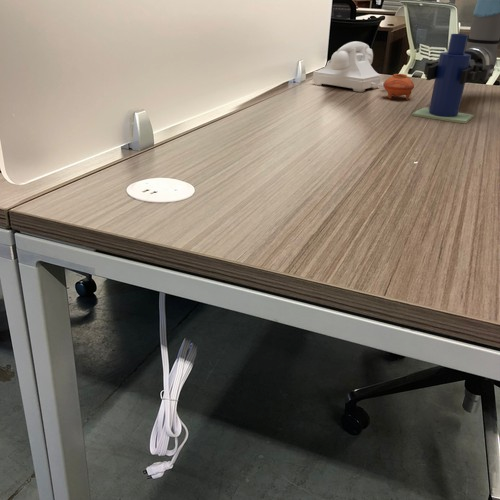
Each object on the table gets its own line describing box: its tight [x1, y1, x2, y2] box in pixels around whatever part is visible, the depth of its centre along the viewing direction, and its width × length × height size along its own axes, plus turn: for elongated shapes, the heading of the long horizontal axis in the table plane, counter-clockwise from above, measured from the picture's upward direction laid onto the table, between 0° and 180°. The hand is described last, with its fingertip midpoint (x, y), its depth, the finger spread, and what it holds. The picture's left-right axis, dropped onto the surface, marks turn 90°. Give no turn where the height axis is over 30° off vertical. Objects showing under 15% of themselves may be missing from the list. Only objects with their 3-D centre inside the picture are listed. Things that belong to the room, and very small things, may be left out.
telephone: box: [312, 40, 385, 93], centre depth 148 cm, size 25×21×12 cm
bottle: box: [429, 33, 471, 117], centre depth 114 cm, size 6×6×17 cm
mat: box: [411, 107, 475, 125], centre depth 118 cm, size 12×8×1 cm, turn 56°
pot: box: [383, 73, 415, 100], centre depth 135 cm, size 8×8×7 cm
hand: (445, 75), depth 110 cm, fingers closed on bottle, 6 cm apart
